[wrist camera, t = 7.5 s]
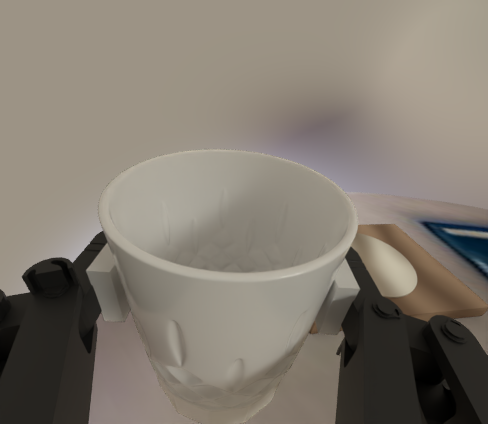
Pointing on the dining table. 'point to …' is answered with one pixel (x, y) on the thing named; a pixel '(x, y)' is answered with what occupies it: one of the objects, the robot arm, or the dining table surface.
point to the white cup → (224, 270)
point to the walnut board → (412, 276)
